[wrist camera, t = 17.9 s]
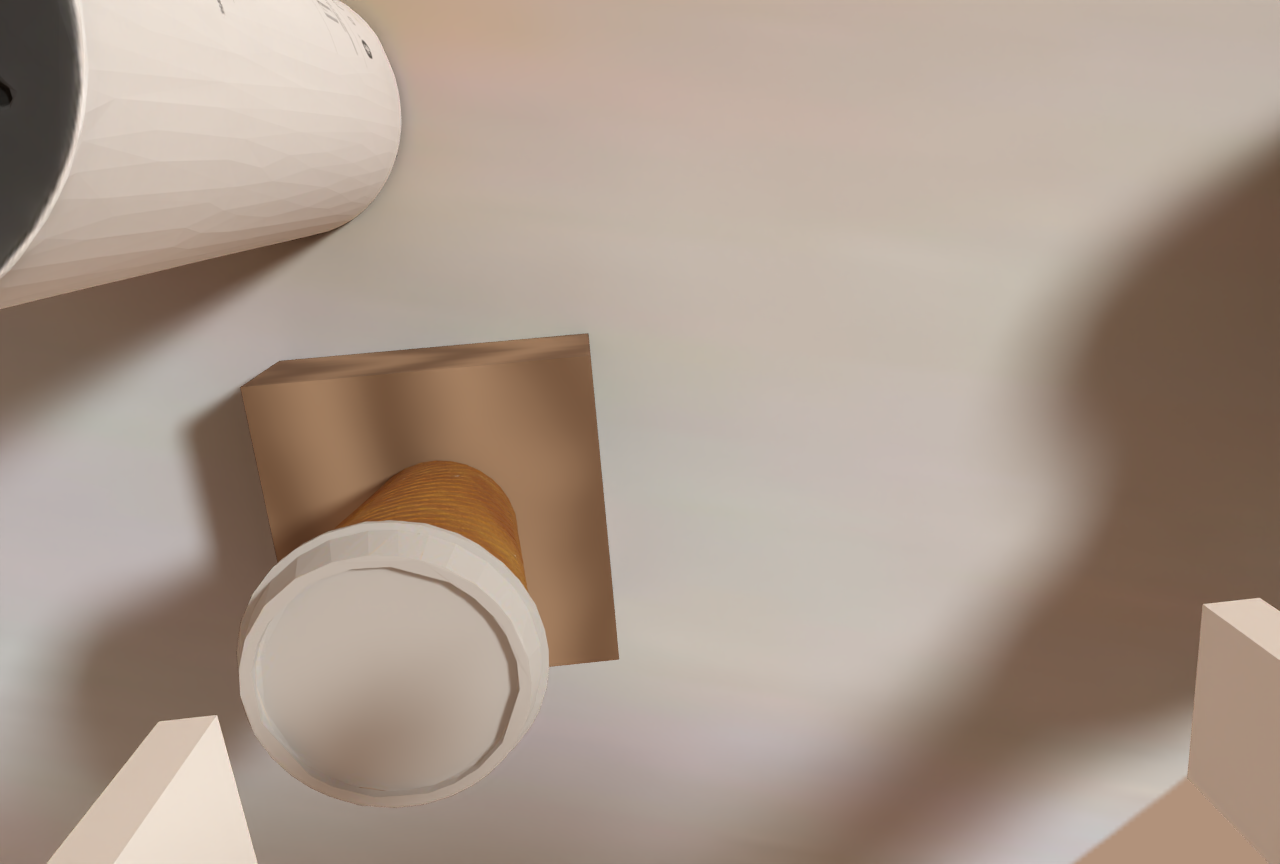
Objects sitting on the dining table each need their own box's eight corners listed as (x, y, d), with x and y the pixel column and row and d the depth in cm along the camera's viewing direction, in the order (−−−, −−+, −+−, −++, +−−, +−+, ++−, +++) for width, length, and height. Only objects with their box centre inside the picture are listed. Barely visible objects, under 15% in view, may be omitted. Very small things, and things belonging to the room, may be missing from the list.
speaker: (93, 54, 37) (-932, -178, 12) (307, -84, 36) (-307, -650, 11) (252, 280, 40) (-294, 480, 15) (453, 159, 39) (236, 150, 14)
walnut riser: (588, 333, 41) (590, 355, 37) (614, 607, 45) (618, 659, 41) (279, 360, 41) (240, 387, 36) (333, 635, 45) (305, 692, 40)
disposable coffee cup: (312, 430, 37) (193, 551, 25) (547, 415, 37) (535, 528, 26) (345, 638, 39) (251, 834, 28) (563, 622, 40) (559, 807, 28)
